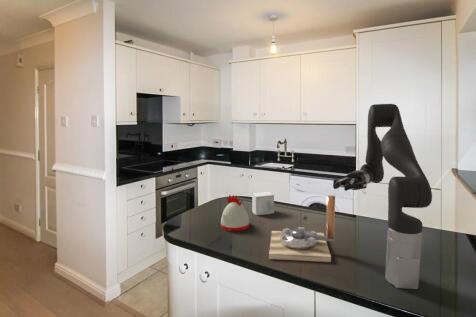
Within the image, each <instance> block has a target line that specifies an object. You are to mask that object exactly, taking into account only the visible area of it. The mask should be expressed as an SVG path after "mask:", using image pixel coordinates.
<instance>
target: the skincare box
mask: <svg viewBox="0 0 476 317" xmlns="http://www.w3.org/2000/svg"><path fill="white" fill-rule="evenodd" d="M251 195H252V196H251V199H252V202H251V204H252V205H251V206H252V207H251V208H252V210H251V212H252V213H253V214H254V215H255V216H263V215H270V214H275V194H273V193H272V192H271V191H266V192H265V191H264V192H255V193H252V194H251Z"/></svg>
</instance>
